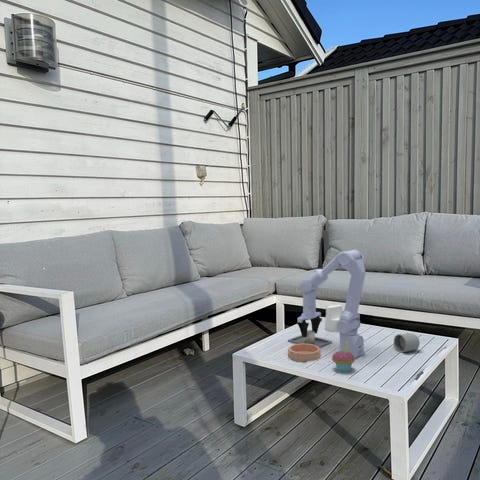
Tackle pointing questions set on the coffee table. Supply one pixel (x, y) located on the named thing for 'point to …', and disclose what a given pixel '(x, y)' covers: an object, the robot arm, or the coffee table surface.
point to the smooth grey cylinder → (310, 337)
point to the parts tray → (318, 342)
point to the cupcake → (343, 360)
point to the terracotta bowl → (303, 352)
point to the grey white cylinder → (332, 317)
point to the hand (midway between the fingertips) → (309, 334)
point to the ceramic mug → (406, 342)
